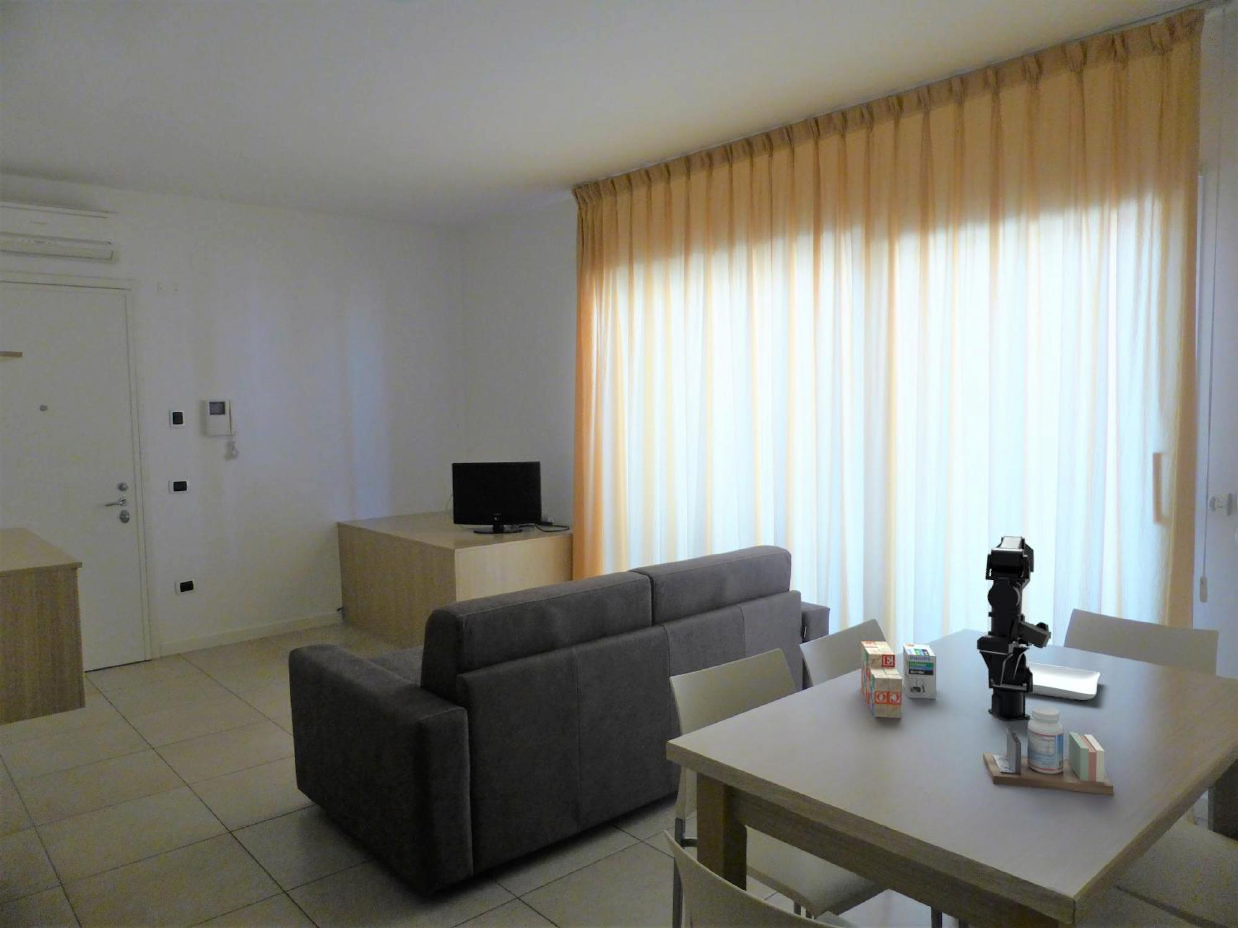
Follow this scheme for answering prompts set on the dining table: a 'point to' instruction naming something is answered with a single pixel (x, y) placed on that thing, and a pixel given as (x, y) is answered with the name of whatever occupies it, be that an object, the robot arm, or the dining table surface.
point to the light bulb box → (919, 671)
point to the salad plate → (1063, 681)
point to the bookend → (1010, 755)
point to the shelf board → (1045, 778)
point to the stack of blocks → (881, 679)
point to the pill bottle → (1045, 741)
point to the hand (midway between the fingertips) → (1004, 682)
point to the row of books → (1086, 757)
